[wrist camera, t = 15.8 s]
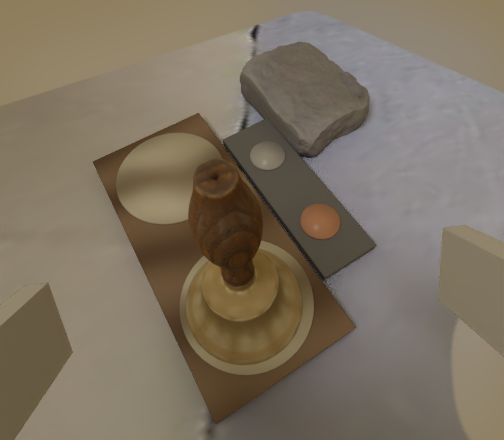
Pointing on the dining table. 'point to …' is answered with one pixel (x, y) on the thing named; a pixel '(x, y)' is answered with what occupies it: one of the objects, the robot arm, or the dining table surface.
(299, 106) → the stone block
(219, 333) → the hand bell
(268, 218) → the board
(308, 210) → the pattern card
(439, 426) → the dining table surface
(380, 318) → the dining table surface
